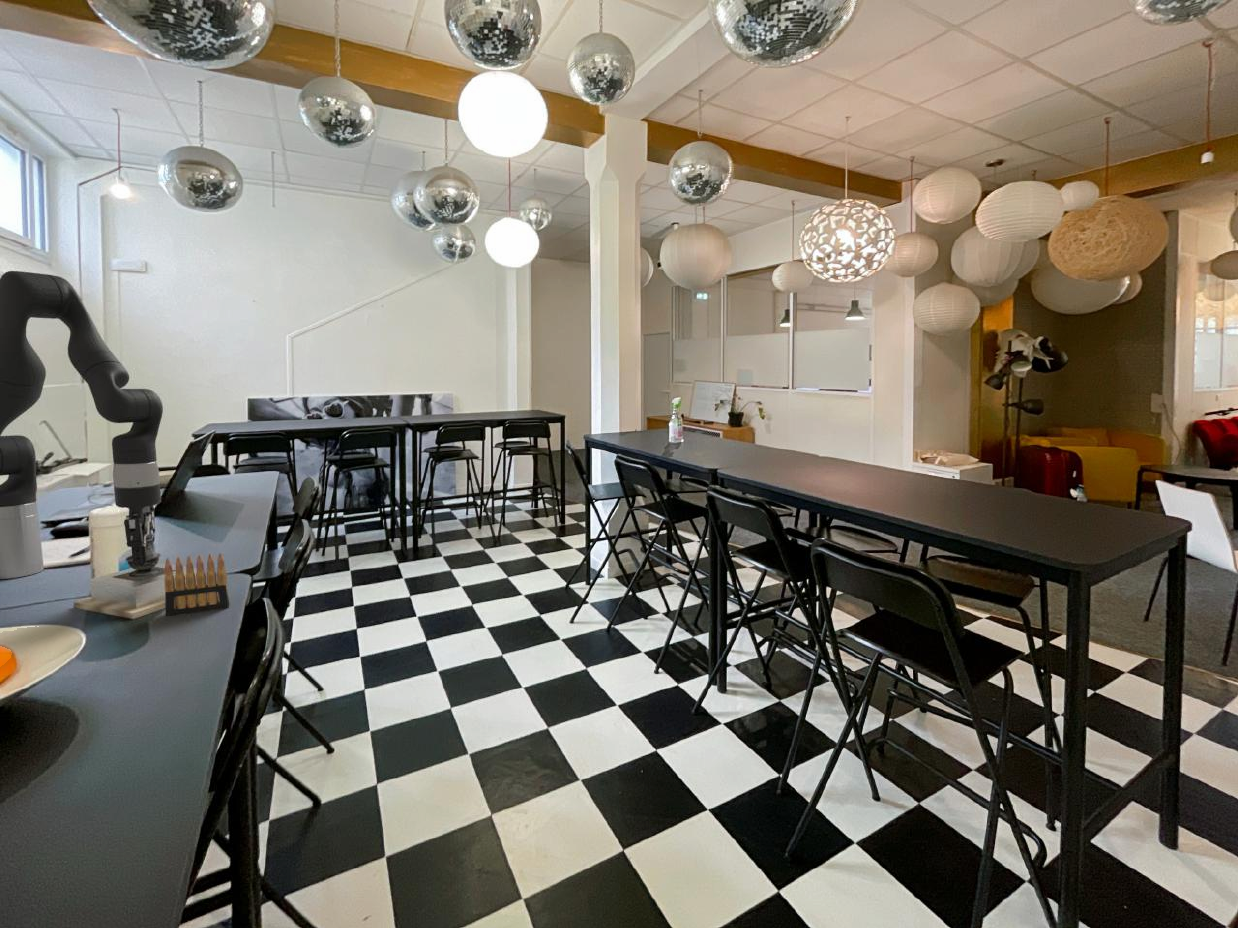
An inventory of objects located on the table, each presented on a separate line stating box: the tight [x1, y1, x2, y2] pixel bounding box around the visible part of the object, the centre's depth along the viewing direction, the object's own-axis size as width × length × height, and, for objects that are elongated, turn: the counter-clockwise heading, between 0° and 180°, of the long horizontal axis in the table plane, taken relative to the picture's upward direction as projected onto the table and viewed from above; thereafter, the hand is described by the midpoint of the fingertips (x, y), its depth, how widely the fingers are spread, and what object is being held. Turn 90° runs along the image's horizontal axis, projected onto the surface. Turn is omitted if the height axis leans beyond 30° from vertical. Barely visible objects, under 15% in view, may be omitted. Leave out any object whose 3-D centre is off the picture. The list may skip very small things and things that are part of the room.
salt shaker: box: [125, 527, 162, 577], centre depth 124 cm, size 6×6×12 cm
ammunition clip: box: [164, 552, 230, 617], centre depth 119 cm, size 11×2×12 cm, turn 120°
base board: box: [72, 595, 187, 620], centre depth 125 cm, size 17×17×1 cm
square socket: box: [89, 561, 197, 608], centre depth 125 cm, size 13×13×4 cm
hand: (143, 559), depth 124 cm, fingers closed on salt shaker, 6 cm apart
